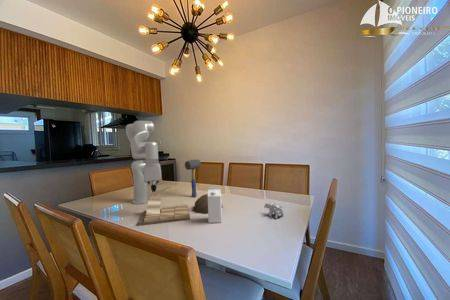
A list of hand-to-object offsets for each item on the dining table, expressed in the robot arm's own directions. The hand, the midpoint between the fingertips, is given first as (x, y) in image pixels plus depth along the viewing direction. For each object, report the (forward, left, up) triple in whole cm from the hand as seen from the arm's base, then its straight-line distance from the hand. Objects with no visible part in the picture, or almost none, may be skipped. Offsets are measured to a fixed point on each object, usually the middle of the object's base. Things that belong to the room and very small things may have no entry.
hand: (153, 191), depth 129 cm
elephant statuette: (+23, +69, -15) cm, 74 cm away
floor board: (+4, +7, -15) cm, 17 cm away
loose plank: (+2, 0, -10) cm, 10 cm away
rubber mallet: (-33, +27, -15) cm, 45 cm away
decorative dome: (-1, +33, -15) cm, 37 cm away
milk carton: (+19, +35, -15) cm, 43 cm away
